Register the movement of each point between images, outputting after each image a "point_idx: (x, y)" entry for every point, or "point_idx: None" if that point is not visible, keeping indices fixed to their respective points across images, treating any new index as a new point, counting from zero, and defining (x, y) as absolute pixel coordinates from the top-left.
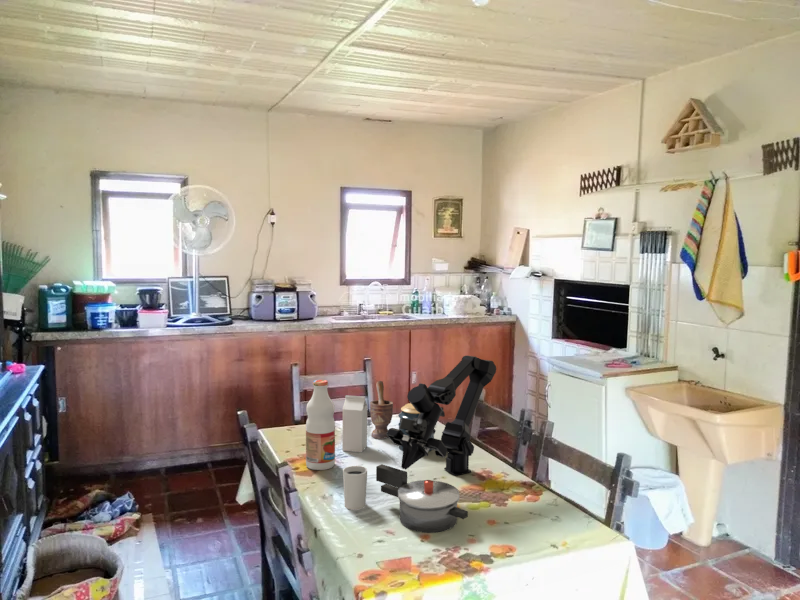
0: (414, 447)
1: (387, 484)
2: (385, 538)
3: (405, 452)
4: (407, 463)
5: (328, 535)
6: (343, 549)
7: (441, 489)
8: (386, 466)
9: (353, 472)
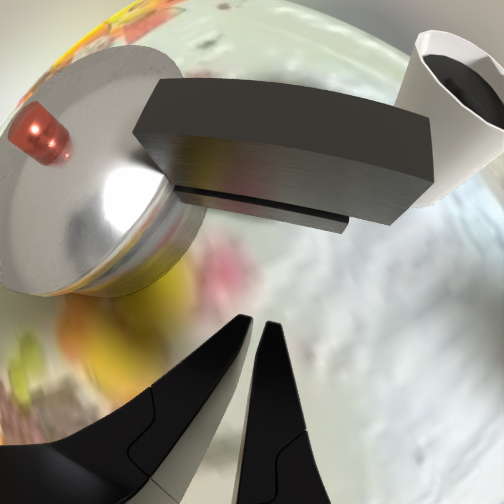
0: (37, 471)
1: (331, 217)
2: (200, 54)
3: (262, 464)
4: (207, 345)
5: (334, 23)
6: (266, 5)
7: (14, 202)
8: (365, 145)
9: (497, 122)
